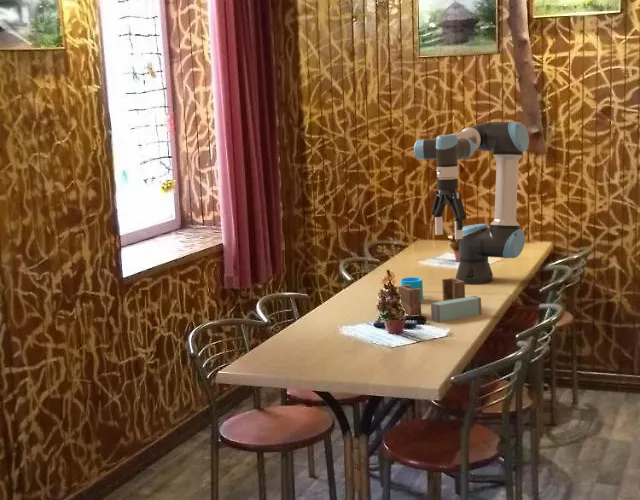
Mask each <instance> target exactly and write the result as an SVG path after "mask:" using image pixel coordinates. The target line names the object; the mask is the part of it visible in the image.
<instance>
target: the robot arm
mask: <svg viewBox="0 0 640 500" xmlns="http://www.w3.org/2000/svg"><path fill="white" fill-rule="evenodd" d="M529 137H530V136H529V132H528V129H527V127H526V125H525V124H524V123H522V122H520V121H500V122H499V121H498V122H497V121H495V122H482V123H479V124H475V125H472V126H467V127H465V128H464V129H462V130H461V131H458V132H455V133H451V134H441V135H437V136H436V137H433V138H423V139H417V140H416V141H415V143H414V146H413V154H414V156H415V158H416V159H418V160H423V161H426V160H436V177H437V179H436V188H437V190H435V193H434V194H435V195H434V198H433V203H432V208H431V212H430V214H431V215H433V217H434V224H435V229H434V230H435V231H434V232H435V235H436V236H440V235H444V226H443V225H444V224H443V221H444V220H443V212H444V210H445V208H446V205H448V206H449V208H450V209H451V211H452V214H453V216H454V240H458V252H459V255H458V256H459V263H458V268H457V270H456V275H455V279H458V280H462V281H465V285H481V284H488V283H491V282H493V281H494V275H493V272H492V268H491V266H490V262H489V258H501V259H516V258H518V257H519V256H520V255H521V253H522V252H523V250H524V246H525V241H526V236H525V232H524V231H523V230H522V229H521V228H520V227H521V226H520V223H519V222H518V221H517V206H518V204H517V203H518V186H519V185H518V184H519V183H518V181H519V161H520V160H521V158H522V157H523V155H524V152H526V151H527V150H528V149H529V145H530V138H529ZM476 151H477V152H492V157H494V158H495V161H496V164H495V165H496V167H495V169H496V170H495V171H496V172H495V190H494V191H495V193H494V194H495V195H494V216H493V221H491V223H490V225H489V226H490V227H488V224H487V223H475V224H469V225H465V226H463V221H464V220H466V219H467V215H466V211H465V208H464V204H463V201H462V194H461V192H456V190H457V189H459V179H458V177H459V165H458V162H459V161H460V160H466V159H470V158H471V157H473V155H474V153H475V152H476Z"/></svg>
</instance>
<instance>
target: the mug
mask: <svg viewBox="0 0 640 500" xmlns="http://www.w3.org/2000/svg"><path fill="white" fill-rule="evenodd" d="M404 285H411V289H416V288H420V293H421V302H423V301H424V292H423V291H424V289H423V278H421V277H414V276H413V277H411V276H410V277H404V278H403V277H402V278H401V279H400V286H404ZM422 300H423V301H422Z"/></svg>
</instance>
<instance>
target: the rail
mask: <svg viewBox="0 0 640 500" xmlns="http://www.w3.org/2000/svg"><path fill="white" fill-rule="evenodd" d="M430 314H431V315H430V316H431V321H433V322H435V323H442V322H446V321H447V322H449V321H453V320H457V319H464V318H468V317H469V318H470V317H474V316H475V317H476V316H481V315H482V297H479V296H476V295H472V296H467V297H466V296H465V298H459V299H453V300H448V301H443V300H442V301H437V302H431V303H430Z"/></svg>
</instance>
